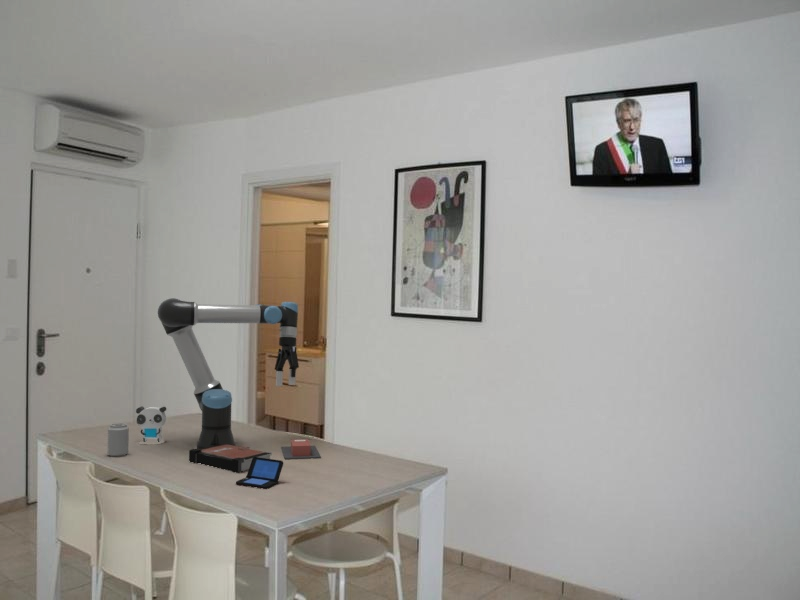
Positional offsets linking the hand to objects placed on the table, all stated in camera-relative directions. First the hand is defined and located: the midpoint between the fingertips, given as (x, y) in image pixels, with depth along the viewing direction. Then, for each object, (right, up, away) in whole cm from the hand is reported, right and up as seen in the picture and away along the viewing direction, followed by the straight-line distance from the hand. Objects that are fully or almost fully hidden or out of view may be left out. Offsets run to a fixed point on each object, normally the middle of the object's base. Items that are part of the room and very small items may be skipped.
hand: (285, 385), depth 295 cm
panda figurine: (-55, -23, -9) cm, 61 cm away
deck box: (+12, -22, -31) cm, 39 cm away
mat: (+10, -24, -23) cm, 35 cm away
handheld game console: (+3, -25, -67) cm, 72 cm away
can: (-60, -23, -32) cm, 72 cm away
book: (-14, -25, -41) cm, 50 cm away
